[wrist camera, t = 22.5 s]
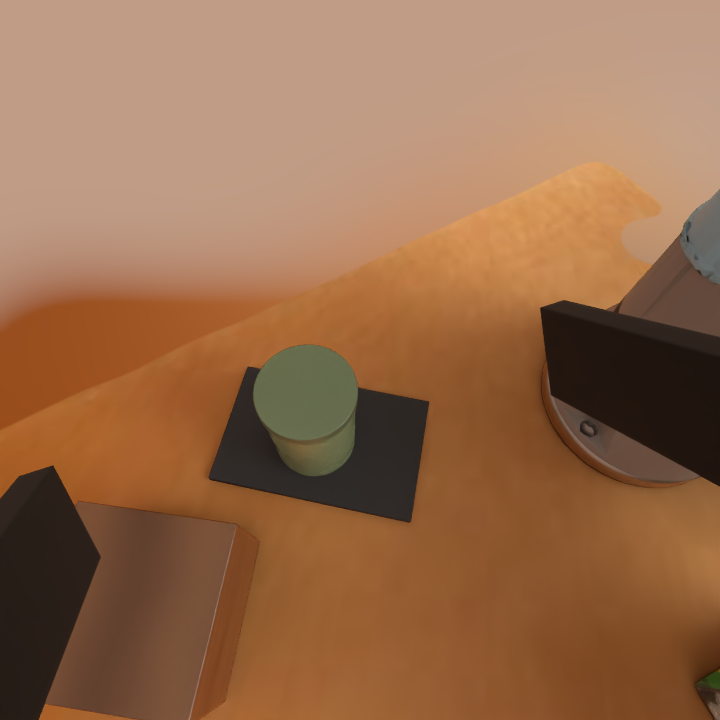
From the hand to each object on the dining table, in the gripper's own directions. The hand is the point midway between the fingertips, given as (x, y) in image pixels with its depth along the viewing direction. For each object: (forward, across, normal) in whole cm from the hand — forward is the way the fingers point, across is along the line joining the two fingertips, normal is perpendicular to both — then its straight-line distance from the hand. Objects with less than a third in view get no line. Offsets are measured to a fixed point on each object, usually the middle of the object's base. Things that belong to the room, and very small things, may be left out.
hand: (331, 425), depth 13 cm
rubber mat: (+24, +1, -13) cm, 28 cm away
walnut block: (+19, -13, -18) cm, 29 cm away
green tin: (+24, 0, -12) cm, 27 cm away
